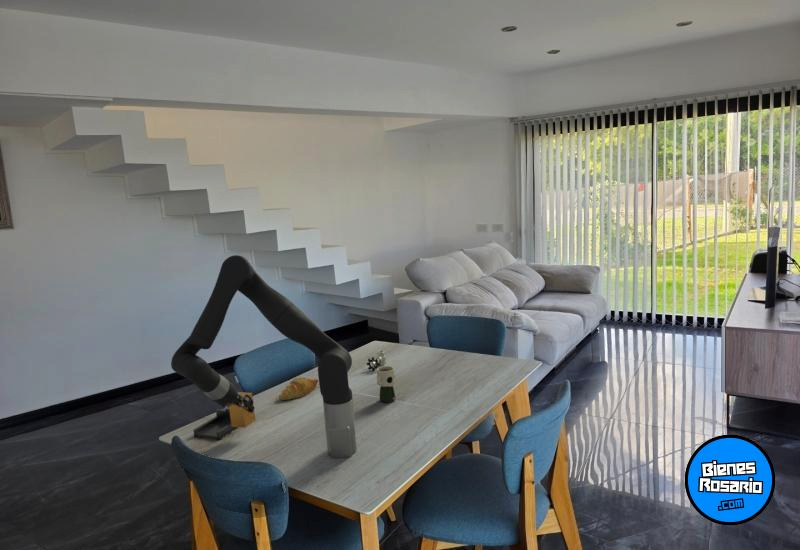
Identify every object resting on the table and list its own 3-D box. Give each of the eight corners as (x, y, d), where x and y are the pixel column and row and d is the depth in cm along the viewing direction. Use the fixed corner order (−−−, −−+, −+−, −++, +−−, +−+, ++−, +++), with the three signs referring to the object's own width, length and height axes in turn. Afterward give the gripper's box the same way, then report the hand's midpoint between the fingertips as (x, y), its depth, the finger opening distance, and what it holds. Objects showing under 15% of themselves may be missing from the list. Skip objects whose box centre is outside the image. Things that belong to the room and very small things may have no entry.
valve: (377, 363, 265) (366, 370, 254) (376, 349, 264) (365, 357, 253) (390, 363, 262) (379, 371, 251) (389, 350, 261) (378, 357, 250)
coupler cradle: (219, 440, 189) (217, 420, 188) (194, 436, 192) (191, 417, 191) (246, 422, 202) (244, 403, 201) (221, 419, 206) (219, 401, 205)
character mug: (387, 406, 209) (385, 374, 207) (372, 403, 213) (369, 371, 211) (402, 397, 218) (400, 365, 216) (387, 394, 222) (385, 363, 220)
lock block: (245, 427, 184) (241, 399, 183) (231, 426, 186) (227, 398, 185) (256, 420, 190) (252, 392, 188) (242, 419, 192) (239, 391, 190)
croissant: (285, 411, 220) (289, 396, 216) (269, 396, 224) (273, 381, 221) (322, 393, 236) (326, 379, 233) (306, 379, 241) (311, 365, 238)
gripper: (241, 378, 176) (266, 400, 188) (204, 377, 181) (231, 398, 193) (232, 400, 172) (259, 421, 184) (195, 398, 177) (224, 418, 189)
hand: (245, 409), depth 189 cm, fingers closed on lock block, 5 cm apart
